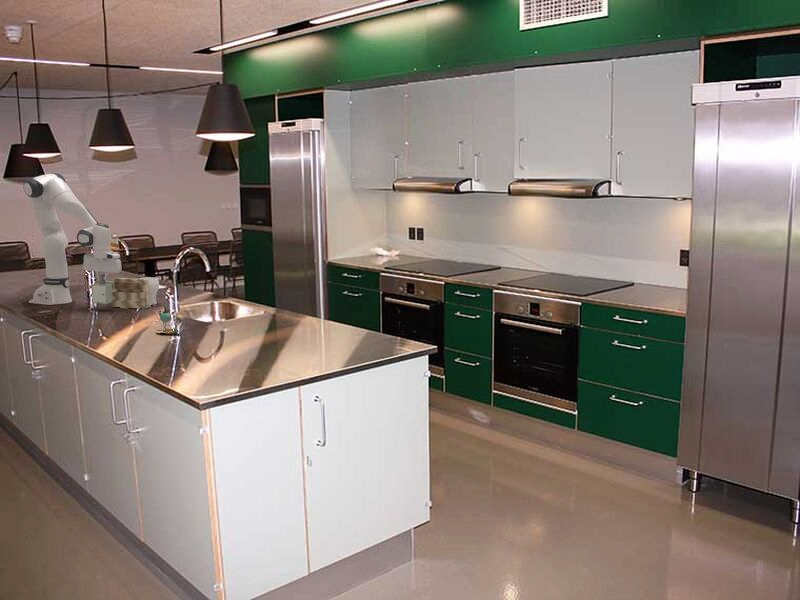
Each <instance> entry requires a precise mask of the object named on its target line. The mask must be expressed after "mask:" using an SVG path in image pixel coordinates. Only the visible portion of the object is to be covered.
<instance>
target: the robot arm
mask: <svg viewBox="0 0 800 600" xmlns="http://www.w3.org/2000/svg"><path fill="white" fill-rule="evenodd" d="M22 187H23V192H24V193H25V194H26V196H27V197H29V198H30V204H31V207H32V211H33V214H34V217H35V219H36V223H37V226H38V227H39V229H40V231H41V232H42V235H43V237H44V238H43V240H42V248H43V249H42V250H43V255H44V256H43V257H44V261H45V276H46V277H44V278H42V279H41V281H42V282H43V284H42V285H40V286H39V287H38V288H37V289H36V290H34V292H33V297H32V299H29V300H28V303H30V304H37V305H47V306H48V305H49V306H51V305H52V306H53V305H63V304H69V303H72V302H73V299H72V296H71V291H70V278H69V272H68V271H69V270H68V267H69V266H68V262H67V256H66V249H67V247H68V246H69V239H68V237H67V235H66V232H65V230H64V228H63V226H62V223H61V221H60V219H59V215H58V212H57V209H58V210H59V212H60V213H64V214H66V215H71V216H73V217H76V218H78V219H80V221H81V222H82V223H83V224H84V226H85V227H86V228H84V229H83V228H82V229H80V230H78V231H77V234H76V240H77V243H78V245H79V246H81V247H85V248H89V247H91V248H92V247H93V251H92V253H91V252H90V253H89V252H87V253H85V254H84V255H83V263H82V269H83V271H89V272H90V271H91V272H95V275H96V276H97V280H98V281H100V275H101V274H100V273H104V275H105V276H104V277H103V280H105V281H108V276H109V275H110V273H113V274H119V273H121V272H122V269H123V268H122V260H121V259H120V258H121V254H119V253H117V252H114V251H113V250H112V247H111V242H112V232H111V228H110V226H109V225H108V224H105V223H100V222H98V221H97V219H96V218H95V217H94V216H93V214H92V213H91V212H90V211H89V209H88V208H87V207H86V206H85V205H84V204H83V203H82V202H81V201H80V200H79V199H78V197H76V196H75V195H76V194H74V192H73V191H72V189H71V188H70V187H69V185H68V184H67V183H66V179H65V178H64V176H63V175H62V174H61V173H58V172H57V173H56V172H53V173H47V174H40V175H39V176H35V177H31V178H28V179H25V181H24V183H23V186H22Z"/></svg>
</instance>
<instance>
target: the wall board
mask: <svg viewBox="0 0 800 600" xmlns="http://www.w3.org/2000/svg"><path fill="white" fill-rule="evenodd" d="M111 279H112V280H111V281H114V287H112V302H111V305H112V308H113V307H120V308H119V309H128V308H145V307H149V306H151V305H149V284H148V279H140V278H130V277H129V278H128V277H112V278H111ZM151 307H152V306H151Z"/></svg>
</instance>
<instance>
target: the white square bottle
mask: <svg viewBox="0 0 800 600" xmlns="http://www.w3.org/2000/svg"><path fill="white" fill-rule="evenodd" d="M105 275H106V274H100V280H98V281H97V282H96V283H92V284H91V285H92V287H91V288H92V294H91V295H92V297H91V298H92V301H91V303H93V304H102V305H107V304H112V291H113V287H114V281H112V280H103V277H104V276H105Z"/></svg>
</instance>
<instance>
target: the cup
mask: <svg viewBox="0 0 800 600" xmlns="http://www.w3.org/2000/svg"><path fill="white" fill-rule="evenodd" d="M139 279H148V284H149V305H152V304H157V294H158V292H159V288H160V281H159V278H158V277H151V276H149V277H147V276H146V277H140V278H139ZM157 305H158V304H157Z"/></svg>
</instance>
